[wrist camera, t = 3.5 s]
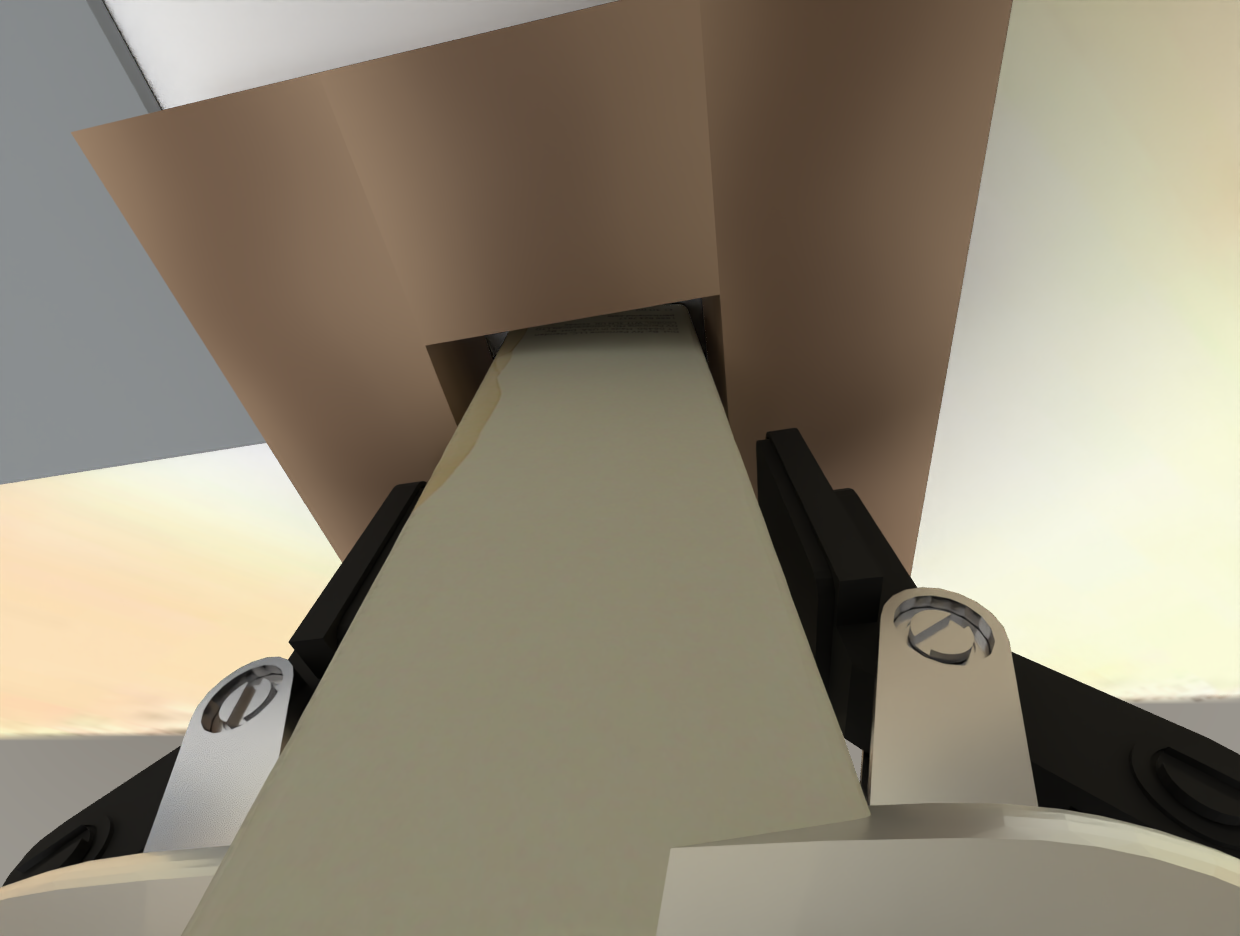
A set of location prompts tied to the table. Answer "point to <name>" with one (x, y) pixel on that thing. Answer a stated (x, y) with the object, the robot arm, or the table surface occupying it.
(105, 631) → the table surface
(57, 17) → the slate mat
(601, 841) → the skincare box
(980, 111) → the pocket block
